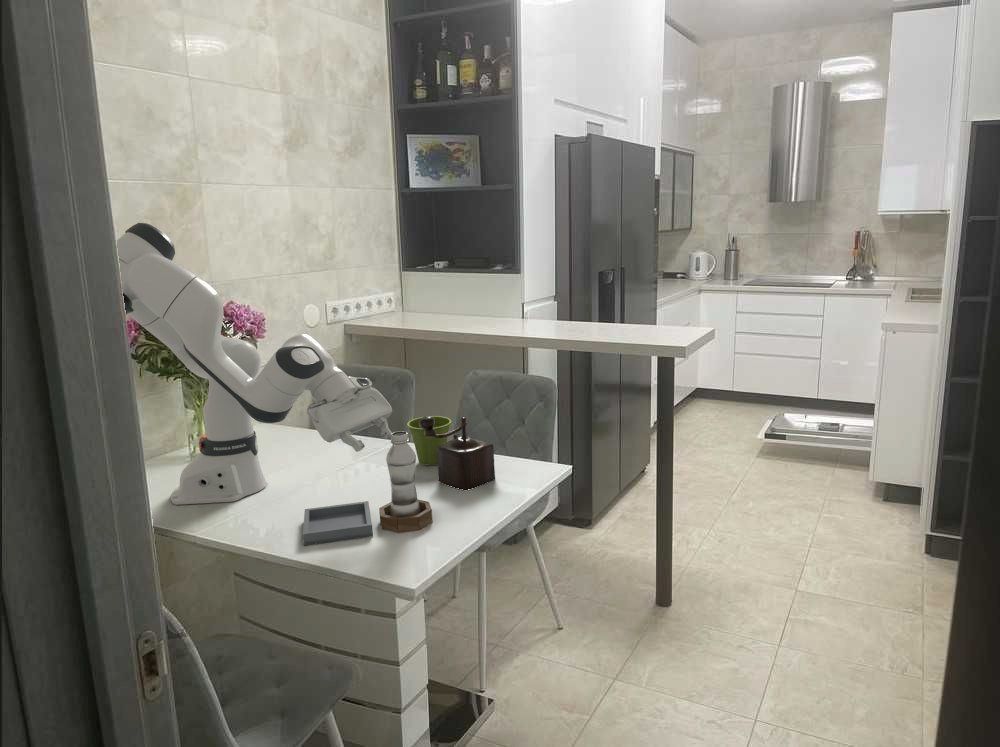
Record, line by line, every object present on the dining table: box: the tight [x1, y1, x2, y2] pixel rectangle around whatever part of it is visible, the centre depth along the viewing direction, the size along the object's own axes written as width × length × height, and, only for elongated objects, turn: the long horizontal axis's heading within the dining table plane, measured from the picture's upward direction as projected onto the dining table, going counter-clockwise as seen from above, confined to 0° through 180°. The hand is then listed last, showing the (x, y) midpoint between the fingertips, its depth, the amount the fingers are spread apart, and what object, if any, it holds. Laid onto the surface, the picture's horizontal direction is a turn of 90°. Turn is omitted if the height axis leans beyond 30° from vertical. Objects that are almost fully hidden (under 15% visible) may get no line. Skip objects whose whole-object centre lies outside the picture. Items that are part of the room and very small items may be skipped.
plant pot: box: [406, 415, 452, 466], centre depth 200 cm, size 12×12×11 cm
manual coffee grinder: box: [419, 415, 496, 491], centre depth 182 cm, size 16×11×18 cm
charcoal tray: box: [302, 500, 374, 547], centre depth 160 cm, size 14×14×3 cm
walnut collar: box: [378, 499, 434, 534], centre depth 162 cm, size 11×11×3 cm
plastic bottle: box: [385, 430, 420, 518], centre depth 160 cm, size 6×7×20 cm
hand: (375, 443), depth 161 cm, fingers open, 8 cm apart
